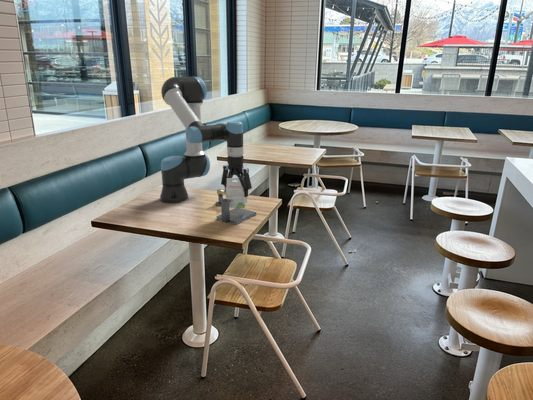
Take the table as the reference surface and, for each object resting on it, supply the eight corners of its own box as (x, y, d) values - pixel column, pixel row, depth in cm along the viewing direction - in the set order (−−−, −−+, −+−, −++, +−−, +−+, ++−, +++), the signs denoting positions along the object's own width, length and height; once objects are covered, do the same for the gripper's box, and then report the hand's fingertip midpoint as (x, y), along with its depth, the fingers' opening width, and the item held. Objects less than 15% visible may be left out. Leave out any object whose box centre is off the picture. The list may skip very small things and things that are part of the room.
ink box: (246, 205, 197) (245, 175, 193) (244, 208, 193) (244, 178, 188) (228, 204, 198) (227, 175, 194) (226, 207, 193) (225, 177, 189)
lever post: (212, 204, 215) (212, 194, 213) (220, 201, 219) (220, 192, 218) (221, 207, 211) (221, 196, 210) (228, 204, 216) (228, 194, 214)
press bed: (214, 220, 193) (213, 198, 189) (237, 210, 207) (237, 189, 203) (233, 225, 186) (232, 203, 183) (256, 214, 200) (256, 193, 197)
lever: (215, 194, 213) (215, 189, 212) (220, 193, 216) (220, 188, 215) (241, 200, 204) (241, 195, 203) (245, 198, 207) (245, 193, 206)
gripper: (212, 154, 191) (214, 199, 198) (249, 159, 179) (250, 207, 186) (222, 151, 197) (224, 195, 204) (259, 156, 184) (259, 203, 191)
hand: (236, 201), depth 194 cm, fingers closed on ink box, 10 cm apart
